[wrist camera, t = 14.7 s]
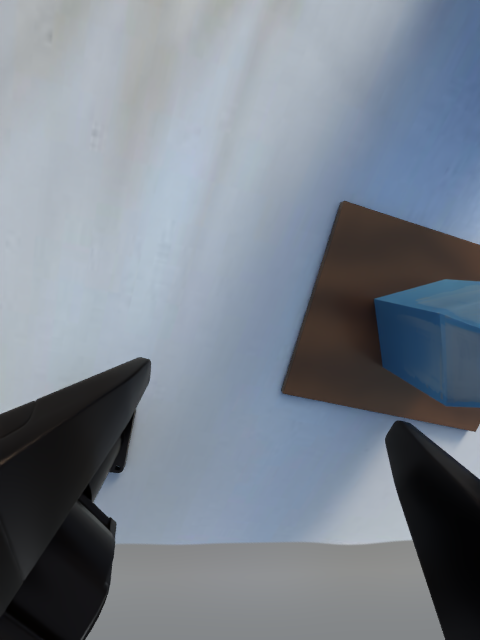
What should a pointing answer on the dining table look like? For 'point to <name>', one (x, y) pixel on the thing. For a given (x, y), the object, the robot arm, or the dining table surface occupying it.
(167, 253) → the dining table surface
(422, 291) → the perfume bottle
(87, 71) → the dining table surface
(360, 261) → the walnut board
